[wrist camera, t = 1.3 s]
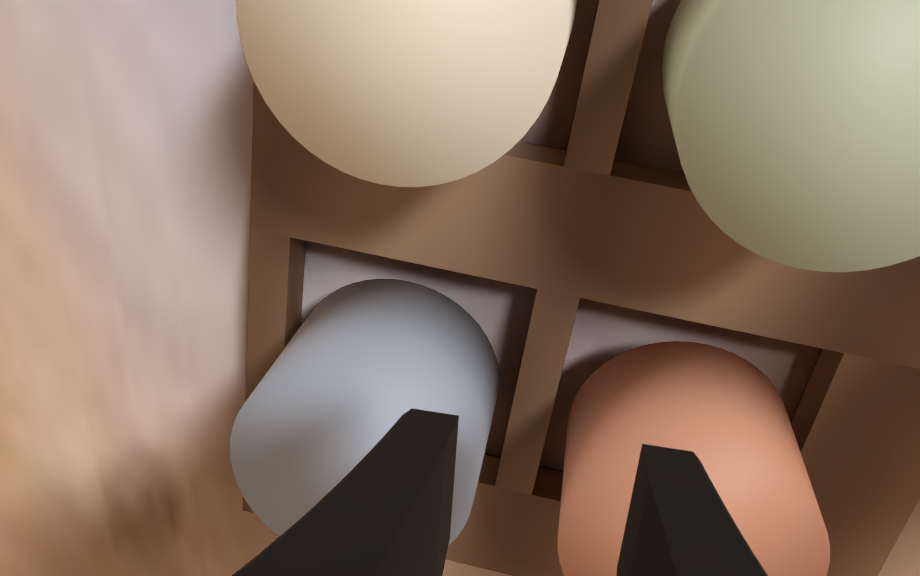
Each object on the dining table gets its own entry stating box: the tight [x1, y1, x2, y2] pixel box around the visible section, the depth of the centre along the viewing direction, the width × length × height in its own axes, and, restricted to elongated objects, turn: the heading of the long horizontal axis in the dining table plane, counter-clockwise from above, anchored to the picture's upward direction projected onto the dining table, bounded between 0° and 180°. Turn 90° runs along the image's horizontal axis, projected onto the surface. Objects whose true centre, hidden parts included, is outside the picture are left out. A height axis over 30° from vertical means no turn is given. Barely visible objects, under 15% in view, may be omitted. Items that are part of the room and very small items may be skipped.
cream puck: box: [236, 0, 577, 187], centre depth 14 cm, size 5×5×4 cm
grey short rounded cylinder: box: [229, 279, 499, 546], centre depth 18 cm, size 5×5×4 cm
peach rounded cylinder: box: [558, 341, 830, 576], centre depth 18 cm, size 5×5×4 cm
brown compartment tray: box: [243, 0, 920, 576], centre depth 18 cm, size 17×22×1 cm
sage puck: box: [662, 0, 920, 272], centre depth 13 cm, size 5×5×4 cm
